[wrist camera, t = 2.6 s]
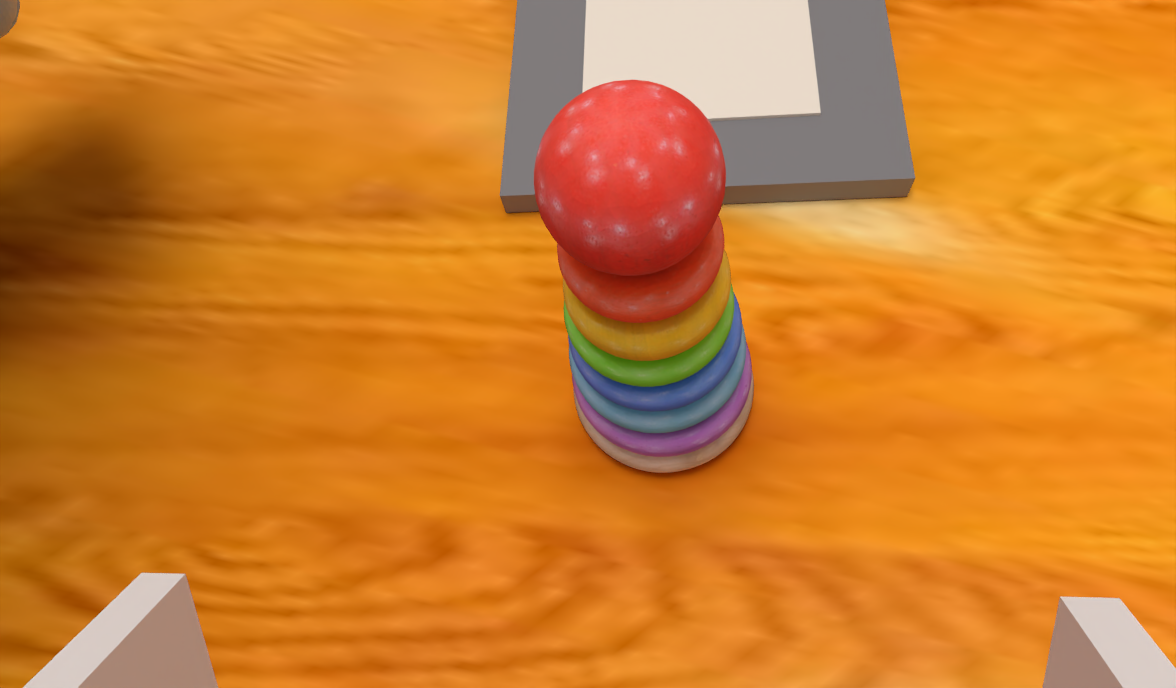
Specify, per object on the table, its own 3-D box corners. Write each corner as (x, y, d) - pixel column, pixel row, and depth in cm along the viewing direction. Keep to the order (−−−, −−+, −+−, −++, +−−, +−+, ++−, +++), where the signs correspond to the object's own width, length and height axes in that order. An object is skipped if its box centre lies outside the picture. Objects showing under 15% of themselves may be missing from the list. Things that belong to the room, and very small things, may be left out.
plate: (506, 212, 40) (498, 193, 39) (529, -59, 48) (524, -84, 47) (906, 196, 38) (916, 175, 36) (860, -86, 46) (866, -113, 44)
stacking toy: (684, 284, 37) (683, -54, 20) (787, 414, 34) (890, 144, 17) (545, 370, 36) (421, 90, 19) (638, 512, 33) (588, 329, 16)
